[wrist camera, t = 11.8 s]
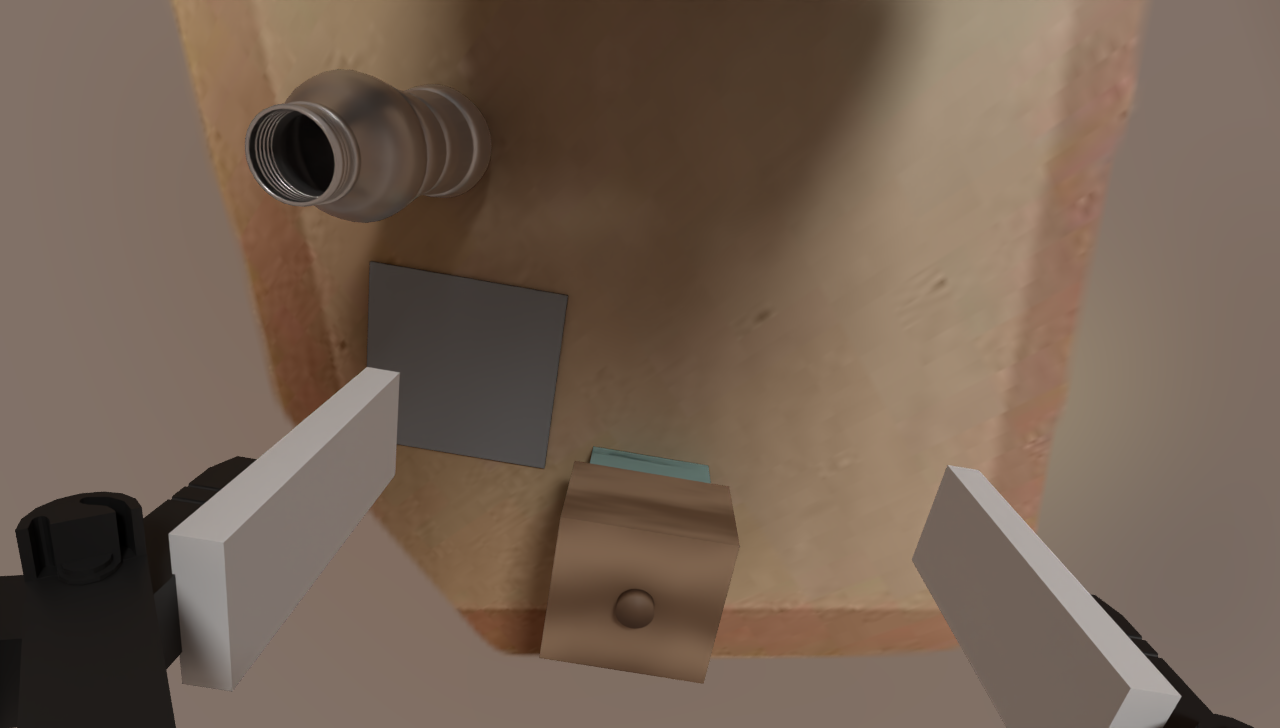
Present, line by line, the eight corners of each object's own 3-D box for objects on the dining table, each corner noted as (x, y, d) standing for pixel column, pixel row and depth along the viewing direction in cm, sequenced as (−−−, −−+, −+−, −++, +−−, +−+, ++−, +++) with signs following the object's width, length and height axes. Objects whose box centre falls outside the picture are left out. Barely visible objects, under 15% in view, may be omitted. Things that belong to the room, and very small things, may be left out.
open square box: (593, 446, 51) (587, 475, 47) (708, 465, 52) (712, 496, 47) (577, 543, 54) (570, 579, 50) (686, 561, 55) (687, 598, 50)
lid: (574, 460, 47) (558, 524, 39) (729, 486, 47) (741, 554, 40) (555, 587, 50) (537, 667, 43) (698, 610, 51) (704, 693, 43)
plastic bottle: (410, 195, 45) (231, 250, 26) (393, 87, 43) (183, 63, 24) (505, 191, 45) (391, 243, 26) (492, 82, 43) (358, 54, 24)
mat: (370, 261, 47) (369, 261, 47) (567, 295, 47) (567, 296, 47) (365, 437, 52) (364, 438, 51) (544, 467, 52) (544, 468, 52)
